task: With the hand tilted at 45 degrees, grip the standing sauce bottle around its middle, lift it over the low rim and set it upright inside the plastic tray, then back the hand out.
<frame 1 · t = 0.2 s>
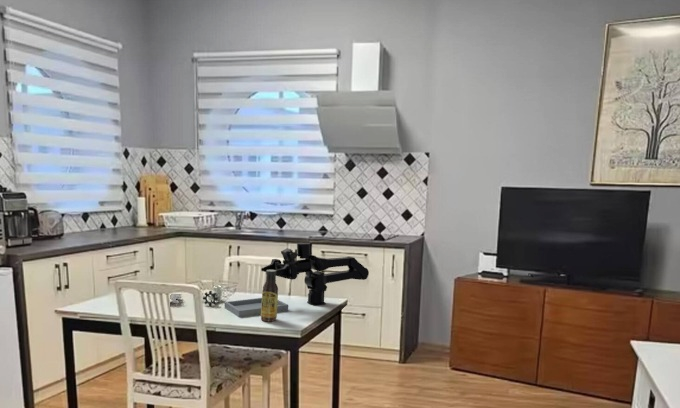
hand: (266, 271, 213), 17 cm above the table, tool horizontal, fingers open, 9 cm apart
valve: (214, 303, 225), on the table
sauce bottle: (269, 320, 199), on the table
tray: (256, 309, 215), on the table
penguin figurine: (174, 302, 225), on the table
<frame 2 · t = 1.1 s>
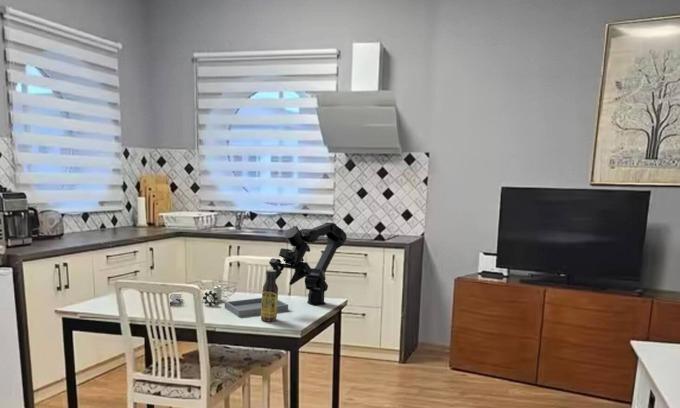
hand: (281, 283, 205), 14 cm above the table, tool tilted 45°, fingers open, 9 cm apart
nothing on the table moved.
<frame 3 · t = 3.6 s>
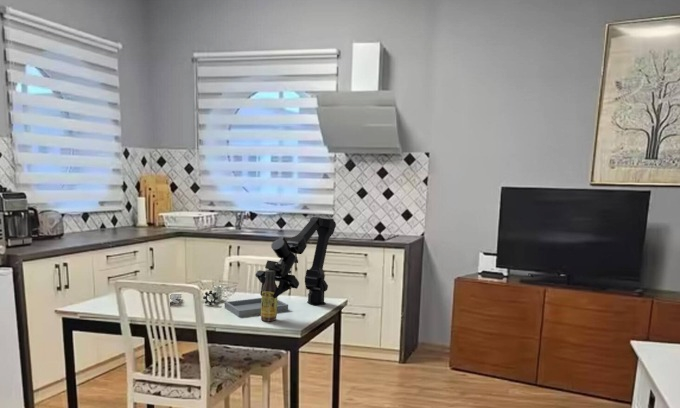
hand: (267, 296, 197), 10 cm above the table, tool tilted 45°, fingers closed on sauce bottle, 6 cm apart
sauce bottle: (269, 320, 199), on the table, touching gripper
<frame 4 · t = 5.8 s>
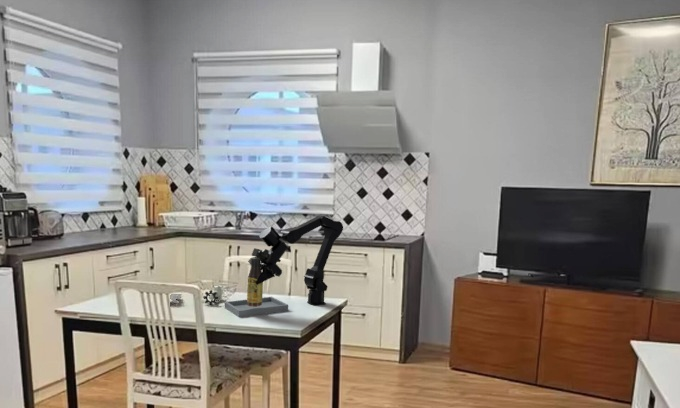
hand: (252, 282, 206), 13 cm above the table, tool tilted 45°, fingers closed on sauce bottle, 6 cm apart
sauce bottle: (255, 305, 207), point 3 cm above the table, touching gripper
when the fingers open (11 cm above the table, at t = 7.9 s): sauce bottle stays where it is, resting on tray.
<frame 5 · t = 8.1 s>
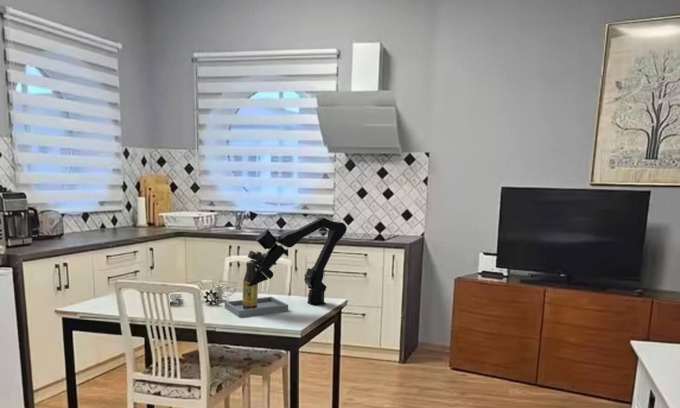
hand: (246, 283, 212), 11 cm above the table, tool tilted 45°, fingers open, 8 cm apart
sauce bottle: (250, 308, 214), point 1 cm above the table, touching tray
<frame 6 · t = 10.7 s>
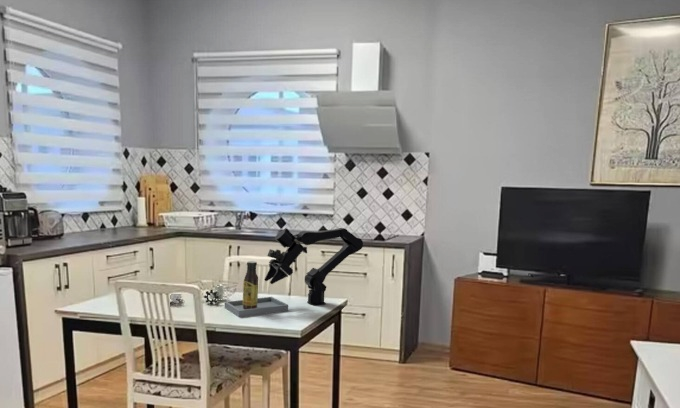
hand: (267, 282, 217), 11 cm above the table, tool tilted 45°, fingers open, 9 cm apart
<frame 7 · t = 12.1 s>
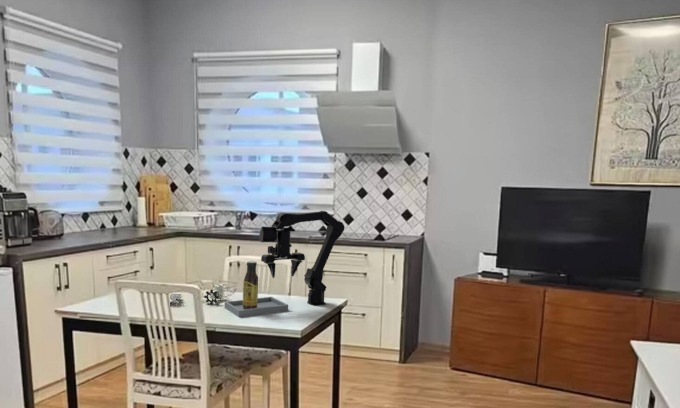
hand: (283, 277, 220), 13 cm above the table, tool pointing down, fingers open, 9 cm apart
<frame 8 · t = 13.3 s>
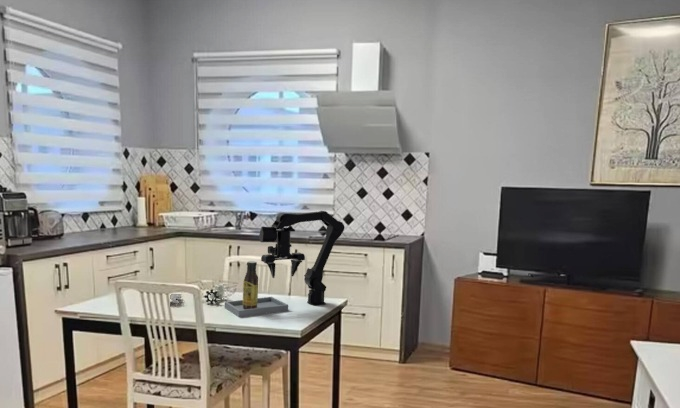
hand: (283, 277, 220), 13 cm above the table, tool pointing down, fingers open, 9 cm apart
at the end: sauce bottle inside the target area on the tray (2.7 cm from its centre), point 0.6 cm above the tray's base; sauce bottle tilted 0°; the gripper is holding nothing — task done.
